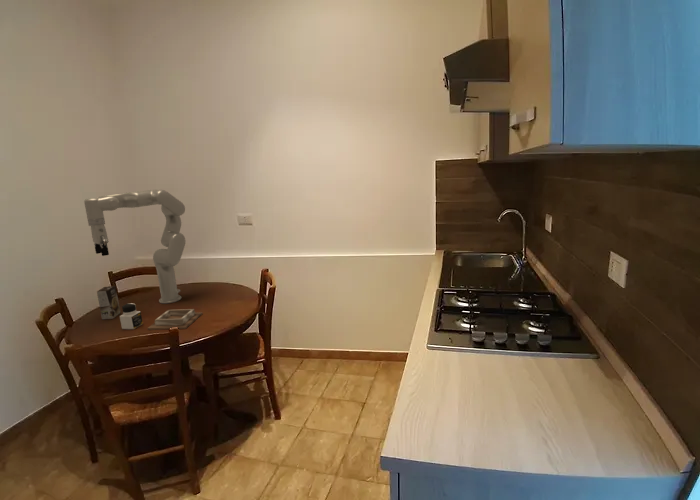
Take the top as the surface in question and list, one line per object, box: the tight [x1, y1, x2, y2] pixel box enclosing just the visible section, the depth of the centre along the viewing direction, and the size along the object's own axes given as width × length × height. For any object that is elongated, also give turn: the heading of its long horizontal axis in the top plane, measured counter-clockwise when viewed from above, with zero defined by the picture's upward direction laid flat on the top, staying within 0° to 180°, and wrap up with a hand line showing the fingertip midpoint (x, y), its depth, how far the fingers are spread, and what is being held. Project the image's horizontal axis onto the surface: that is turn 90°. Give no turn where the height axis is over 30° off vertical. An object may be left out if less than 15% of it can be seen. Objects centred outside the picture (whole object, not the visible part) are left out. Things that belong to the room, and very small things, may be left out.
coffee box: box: [96, 285, 121, 320], centre depth 239 cm, size 9×6×16 cm
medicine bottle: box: [119, 302, 144, 330], centre depth 222 cm, size 7×7×12 cm
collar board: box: [147, 308, 203, 331], centre depth 226 cm, size 20×20×4 cm
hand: (102, 254), depth 229 cm, fingers open, 9 cm apart
